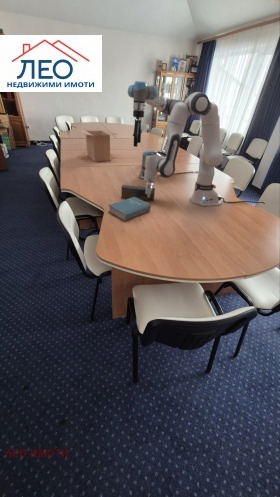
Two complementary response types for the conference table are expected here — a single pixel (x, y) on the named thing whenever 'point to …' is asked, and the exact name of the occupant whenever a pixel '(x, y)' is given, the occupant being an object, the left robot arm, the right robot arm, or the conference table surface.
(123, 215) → the book
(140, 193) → the bar
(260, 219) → the conference table surface
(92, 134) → the box
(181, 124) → the right robot arm
